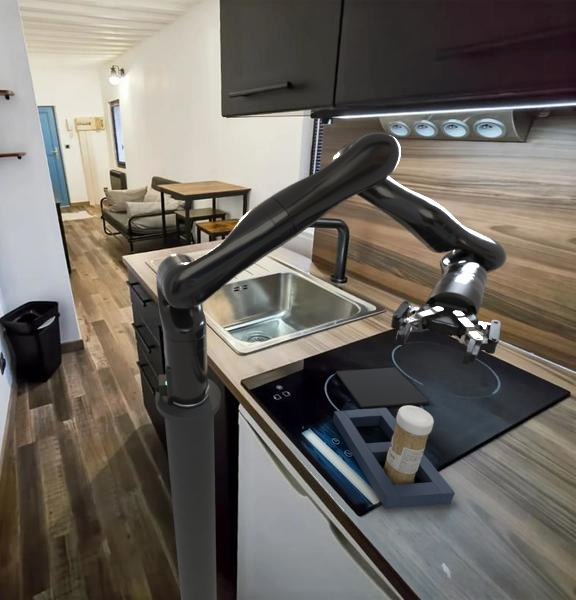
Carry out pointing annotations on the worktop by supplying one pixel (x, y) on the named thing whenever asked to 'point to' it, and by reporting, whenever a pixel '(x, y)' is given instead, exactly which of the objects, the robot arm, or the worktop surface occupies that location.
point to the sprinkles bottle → (407, 444)
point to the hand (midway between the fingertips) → (432, 349)
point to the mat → (380, 388)
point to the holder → (370, 454)
